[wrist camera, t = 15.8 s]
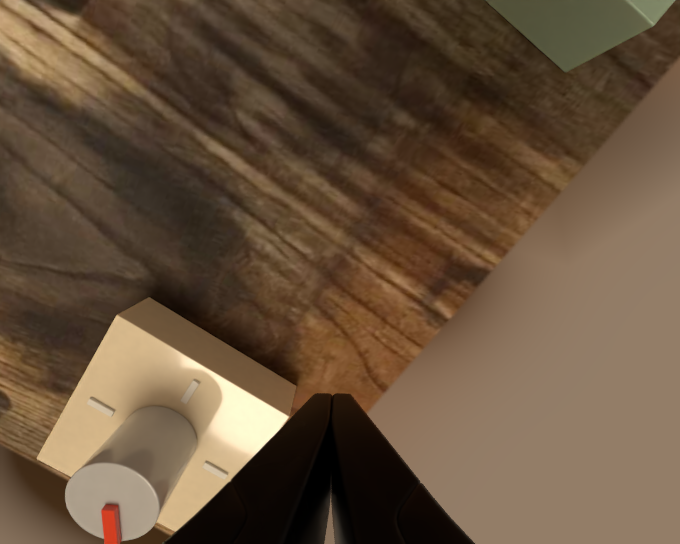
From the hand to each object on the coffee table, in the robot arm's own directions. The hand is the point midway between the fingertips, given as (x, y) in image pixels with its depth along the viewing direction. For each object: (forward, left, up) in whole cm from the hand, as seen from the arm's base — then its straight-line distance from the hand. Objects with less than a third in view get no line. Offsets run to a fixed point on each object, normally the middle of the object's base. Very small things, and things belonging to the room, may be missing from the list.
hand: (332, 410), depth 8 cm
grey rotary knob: (+9, +8, -9) cm, 15 cm away
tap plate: (+10, +8, -12) cm, 17 cm away
